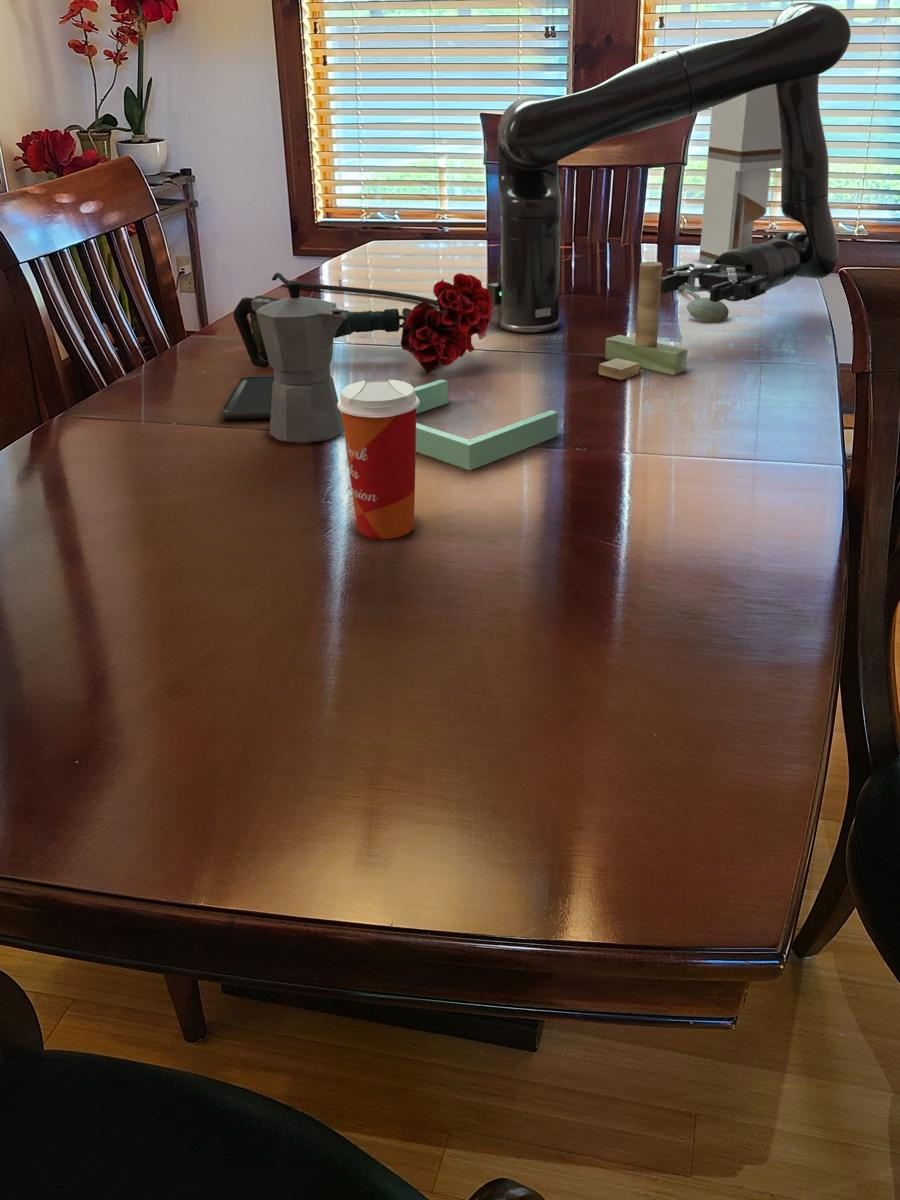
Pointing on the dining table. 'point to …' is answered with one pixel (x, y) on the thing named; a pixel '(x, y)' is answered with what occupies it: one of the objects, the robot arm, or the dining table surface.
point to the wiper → (648, 330)
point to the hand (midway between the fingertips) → (686, 290)
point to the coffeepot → (296, 362)
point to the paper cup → (381, 454)
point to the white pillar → (739, 169)
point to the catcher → (484, 446)
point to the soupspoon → (706, 308)
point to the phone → (250, 399)
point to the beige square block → (619, 369)
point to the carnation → (423, 322)
